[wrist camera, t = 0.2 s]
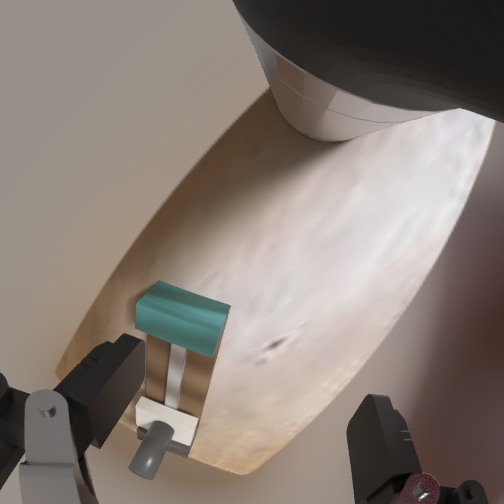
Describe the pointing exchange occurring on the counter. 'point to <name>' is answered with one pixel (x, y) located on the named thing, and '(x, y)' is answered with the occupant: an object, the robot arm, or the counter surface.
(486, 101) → the robot arm
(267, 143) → the counter surface
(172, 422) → the carriage
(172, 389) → the rail
